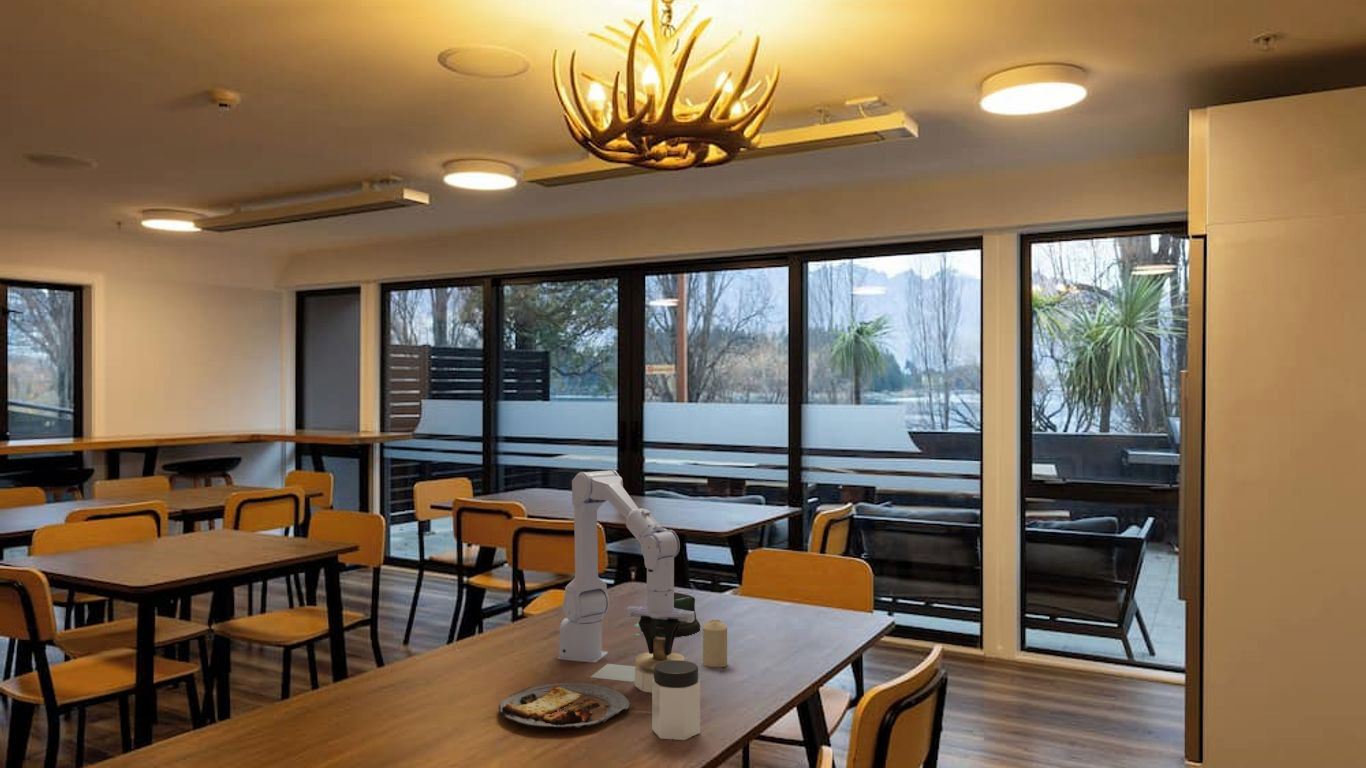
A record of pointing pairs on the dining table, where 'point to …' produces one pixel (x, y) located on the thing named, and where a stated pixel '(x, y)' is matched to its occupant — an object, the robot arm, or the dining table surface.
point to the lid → (656, 655)
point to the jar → (676, 700)
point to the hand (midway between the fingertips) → (660, 653)
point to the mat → (616, 673)
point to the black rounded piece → (685, 627)
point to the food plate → (560, 705)
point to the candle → (715, 644)
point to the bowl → (644, 678)
